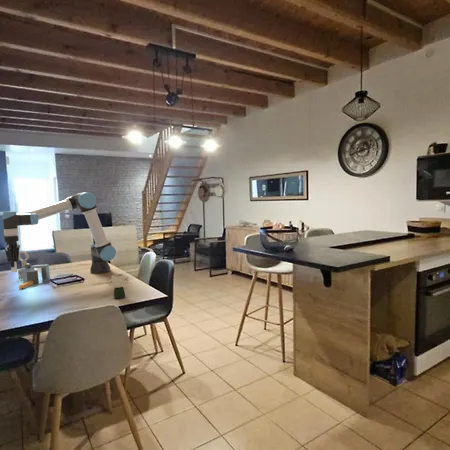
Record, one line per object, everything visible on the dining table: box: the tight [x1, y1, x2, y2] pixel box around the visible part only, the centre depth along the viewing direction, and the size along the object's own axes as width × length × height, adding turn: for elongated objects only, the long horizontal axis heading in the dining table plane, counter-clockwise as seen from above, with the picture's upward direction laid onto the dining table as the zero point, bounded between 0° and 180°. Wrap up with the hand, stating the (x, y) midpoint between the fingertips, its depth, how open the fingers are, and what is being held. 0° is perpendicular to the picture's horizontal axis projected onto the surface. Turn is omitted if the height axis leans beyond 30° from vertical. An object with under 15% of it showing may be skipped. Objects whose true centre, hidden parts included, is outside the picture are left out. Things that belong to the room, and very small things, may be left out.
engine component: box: [17, 250, 30, 279], centre depth 251 cm, size 11×20×10 cm
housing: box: [21, 263, 51, 283], centre depth 235 cm, size 17×4×13 cm, turn 92°
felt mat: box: [53, 273, 73, 278], centre depth 246 cm, size 10×15×1 cm, turn 2°
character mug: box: [107, 273, 129, 299], centre depth 182 cm, size 11×7×13 cm, turn 121°
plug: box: [18, 269, 39, 290], centre depth 222 cm, size 17×5×9 cm, turn 3°
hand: (14, 271), depth 208 cm, fingers closed
